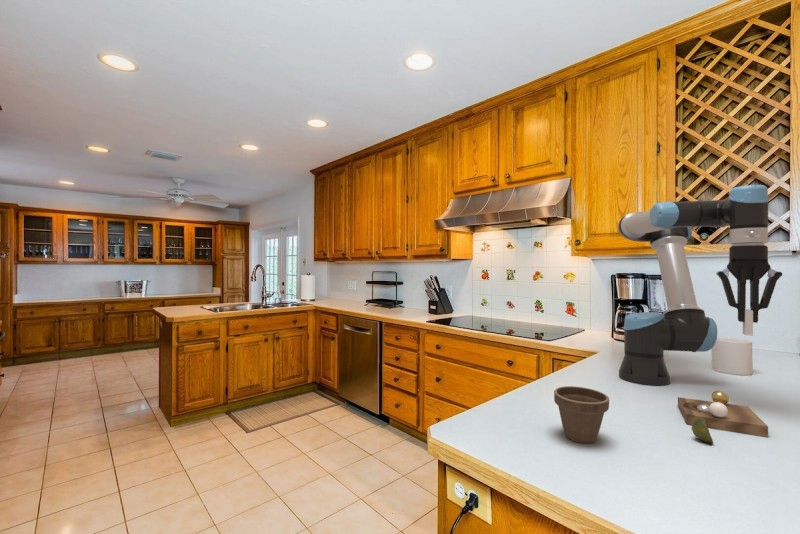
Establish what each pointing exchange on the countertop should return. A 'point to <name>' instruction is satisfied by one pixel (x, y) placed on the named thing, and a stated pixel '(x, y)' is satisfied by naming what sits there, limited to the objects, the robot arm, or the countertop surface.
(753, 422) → the board
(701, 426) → the lime
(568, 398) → the flower pot
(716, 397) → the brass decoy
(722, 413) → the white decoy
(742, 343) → the cup
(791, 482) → the countertop surface
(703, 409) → the steel ball
